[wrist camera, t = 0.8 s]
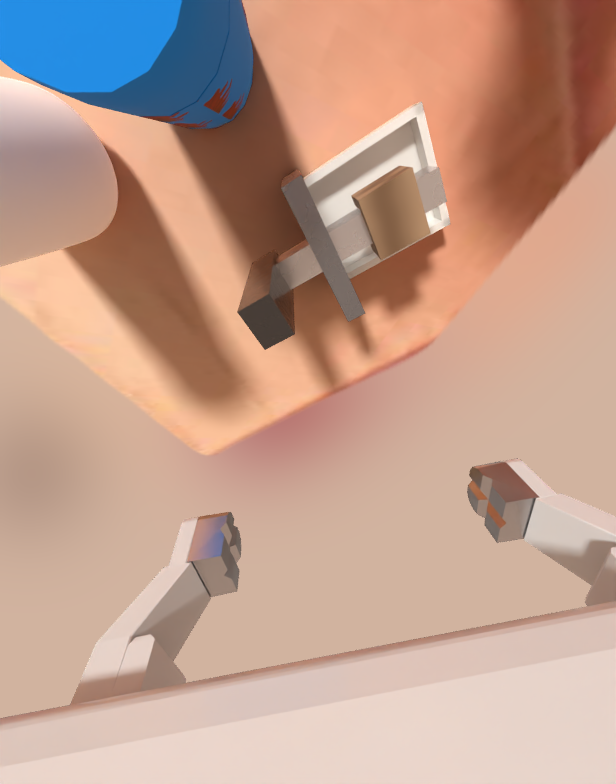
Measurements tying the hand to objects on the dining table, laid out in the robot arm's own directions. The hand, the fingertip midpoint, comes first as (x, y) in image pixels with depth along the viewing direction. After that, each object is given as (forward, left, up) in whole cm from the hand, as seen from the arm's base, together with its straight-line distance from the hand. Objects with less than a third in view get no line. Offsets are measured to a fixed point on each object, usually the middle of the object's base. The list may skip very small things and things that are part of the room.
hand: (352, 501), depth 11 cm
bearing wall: (-2, 0, -37) cm, 37 cm away
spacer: (-9, 0, -30) cm, 31 cm away
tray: (-10, 0, -37) cm, 38 cm away
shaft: (-4, 0, -32) cm, 32 cm away
